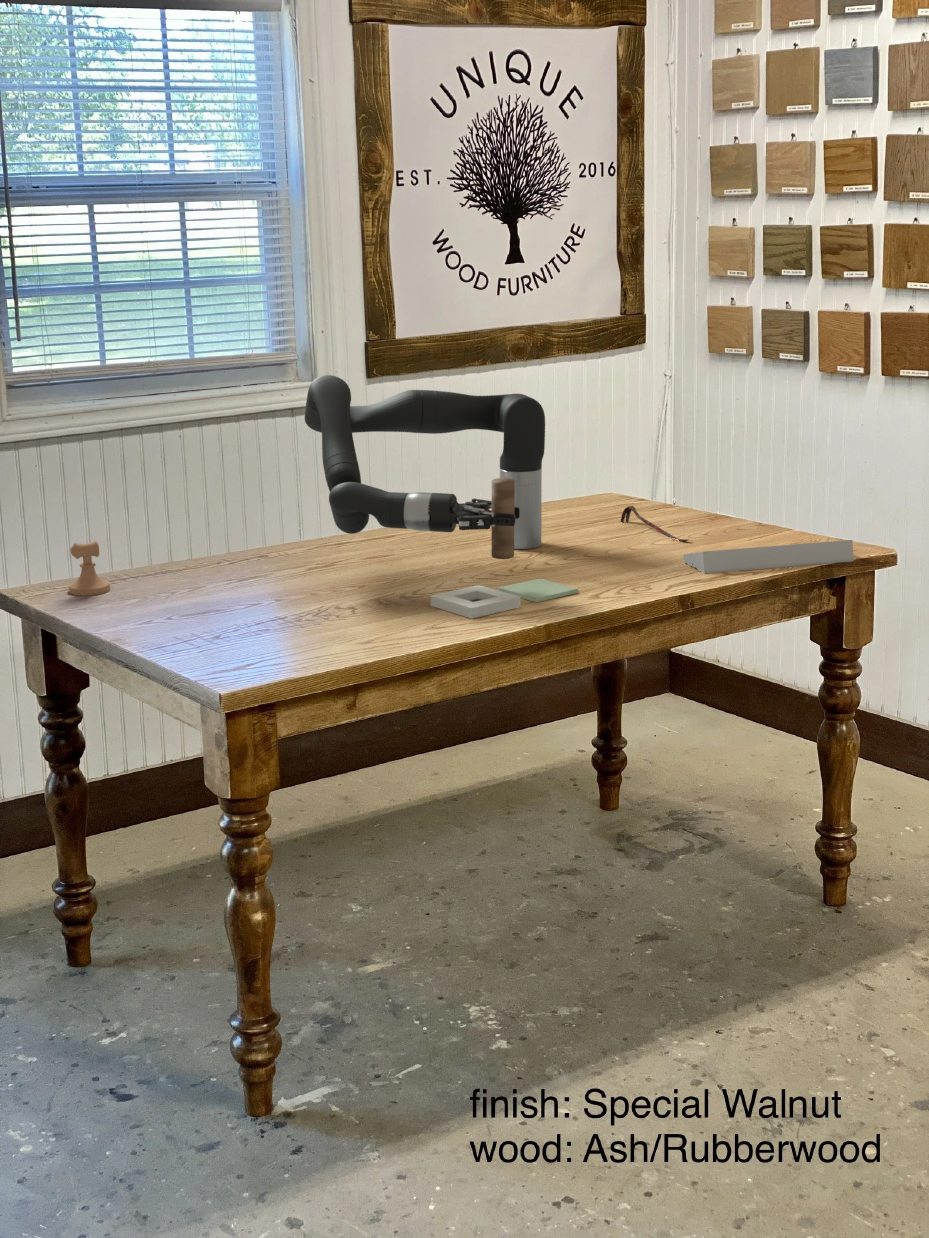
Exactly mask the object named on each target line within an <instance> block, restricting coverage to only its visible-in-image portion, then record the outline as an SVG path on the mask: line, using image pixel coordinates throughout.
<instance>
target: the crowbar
mask: <svg viewBox="0 0 929 1238" xmlns="http://www.w3.org/2000/svg"><path fill="white" fill-rule="evenodd" d="M631 512H633V513H634V515H635V517H636V518H637V519H639V521H641V522H642V523H644V524H646V525H648V526H650V527H651V528H653V529H654V530H656V531H658V532H659V533H661V534H663V535H664V536H667V537H668V536H669V538H670V537H671V538H670V539H672V538H675V539H678V540H679V541H678V542H681V541H683V542H686V541H689V540H690V538H689V539H683V538H682V539H681V538H678V537H676V536H674V535H672V534H671V533H669V532H667V531H665V530H664V529H662V528H660V527H659V526H657V525H655V524H654V523H653V522H650V521H649V520H647V519H646V518H644V517H643V516H642V515H640V514H639V513H638V512H637V508H636V507H635V506H633V505H628V506H627V507H625V508H624V510H623V511H622V514H621V517H620V522H623V523H624V522H625V523H628V521H630V515H631ZM675 539H674V540H675Z"/></svg>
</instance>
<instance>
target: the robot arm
mask: <svg viewBox="0 0 929 1238" xmlns="http://www.w3.org/2000/svg"><path fill="white" fill-rule="evenodd" d="M311 381H312V382H310V384H309V387H308V390H307V395H306V403H305V408H304V422H305V424H306V426H307V427H309V428H310V430H312V431H315V432H317V433H321V450H322V451H321V452H322V453H321V455H322V466H323V471H324V477H325V481H326V482H325V483H326V485H327V488H328V490H329V495H328V502H329V507H330V509H331V512H332V513H331V514H332V517H333V520H334V524H335V526H336V527H337V528H338V529H339V530H340V531H341V532H343V533H346V534H349V535H350V534H351V535H353V534H358V533H360V532H361V531H363V530H364V529H365V528H366V526H367V525H368V523H369V520H370V515H371V516H372V517H374V518H375V519H376V521H377V522H378V523H379V525H380V526H381V527H383V528H388V529H389V528H390V529H401V530H403V529H405V530H412V531H417V532H418V531H419V532H436V533H437V532H438V533H453V532H454V531H455V530H456V528H457V525H458V530H459V531H471V530H473V531H474V530H477V531H478V530H491V528H492V527H494V526H495V524H496V525H500V526H514V550H529V549H536V548H539V547H541V546H542V525H543V524H542V522H543V521H542V519H543V518H542V517H543V515H542V514H543V513H542V511H543V509H542V506H543V505H542V503H543V501H542V499H543V498H542V497H543V494H542V491H543V489H542V487H543V486H542V481H543V480H542V479H543V478H542V474H543V473H542V465H543V464H542V463H543V459H544V455H545V449H546V448H545V444H546V416H545V411H544V408H543V406H542V404H541V403H540V402H539V401H538V400H536V399H534V398H532V397H530V396H528V395H527V394H523V393H506V394H496V395H495V394H493V395H491V394H490V395H489V394H488V395H472V394H465V393H459V392H452V391H446V390H445V391H442V390H432V389H430V390H429V389H409V390H405V391H401V392H399V393H397V394H395V395H393V396H390V397H388V398H386V399H384V400H382V401H378V402H376V403H373V404H368V405H351V403H352V394H351V388H350V387H349V384H348V383H347V382H346V381H345V380H344V379H342V378H340V377H339V376H336V375H332V374H323V375H320V376H317V377H316V378H314V379H313V380H311ZM467 430H484V431H490V432H491V431H492V432H498V433H499V432H500V433H502V434H503V448H502V449H503V450H502V453H501V455H500V457H499V478H509V479H513V480H514V481H515V497H514V514H500V513H496V515H495V513H492V500H488V499H487V500H486V499H478V498H471V501H465V503H463V502H462V503H459V502H458V499H457V496H456V495H455V494H454V493H446V492H445V493H442V492H440V493H439V492H422V491H420V492H419V491H418V492H393V491H387V490H385V489H384V490H383V489H381V488H378V487H375V486H371V485H367V484H364V483H362V478H361V470H360V466H359V461H358V458H357V452H356V448H355V442H354V441H355V440H354V437H353V434H355V433H357V434H358V433H370V432H371V433H373V432H380V433H383V432H385V433H389V432H390V433H412V434H433V435H434V434H437V435H438V434H449V433H457V432H461V431H467ZM490 509H491V510H490Z"/></svg>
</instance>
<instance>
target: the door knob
mask: <svg viewBox="0 0 929 1238" xmlns="http://www.w3.org/2000/svg"><path fill="white" fill-rule="evenodd" d="M70 554H71V556H72V557H74V558H75V559H77V560H79V559H81V558H82V563H80V564H79V567H80V568H81V570H80V571H81V572H80V575H79V577H78V578H77V580H75V581H74V582H72V583H70V584H69V585H68V593H69V594H72V595H75V596H94V595H101V594H105V593H107V592H109V591H111V582H110V581H108V580H105V579H102V578H101V577H100V576H99V575H98V574H97V572H96V570H95V567H96V566H97V563H96V562H92V561H93V560H92V557H96V558H99V557H100V546H99V542H98V541H96V540H95V541H93V542H90V543H77V542H75V543H74V544H73V545H72V546H71V547H70Z"/></svg>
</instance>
